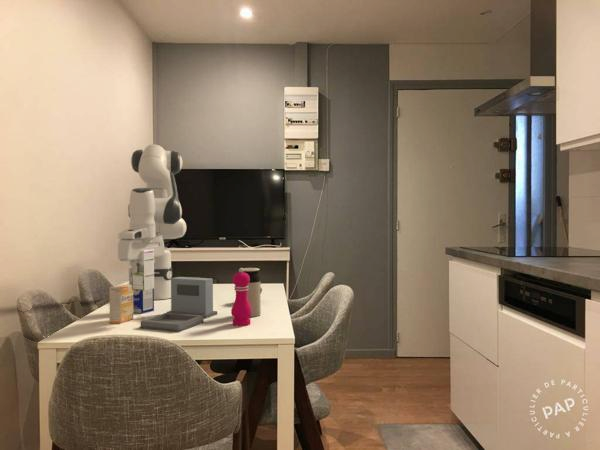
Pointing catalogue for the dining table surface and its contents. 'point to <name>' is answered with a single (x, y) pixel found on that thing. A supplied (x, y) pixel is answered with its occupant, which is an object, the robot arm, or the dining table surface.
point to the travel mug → (254, 291)
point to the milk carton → (142, 298)
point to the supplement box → (121, 303)
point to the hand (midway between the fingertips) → (143, 271)
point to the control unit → (192, 296)
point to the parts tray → (172, 322)
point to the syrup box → (144, 271)
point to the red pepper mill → (241, 299)
